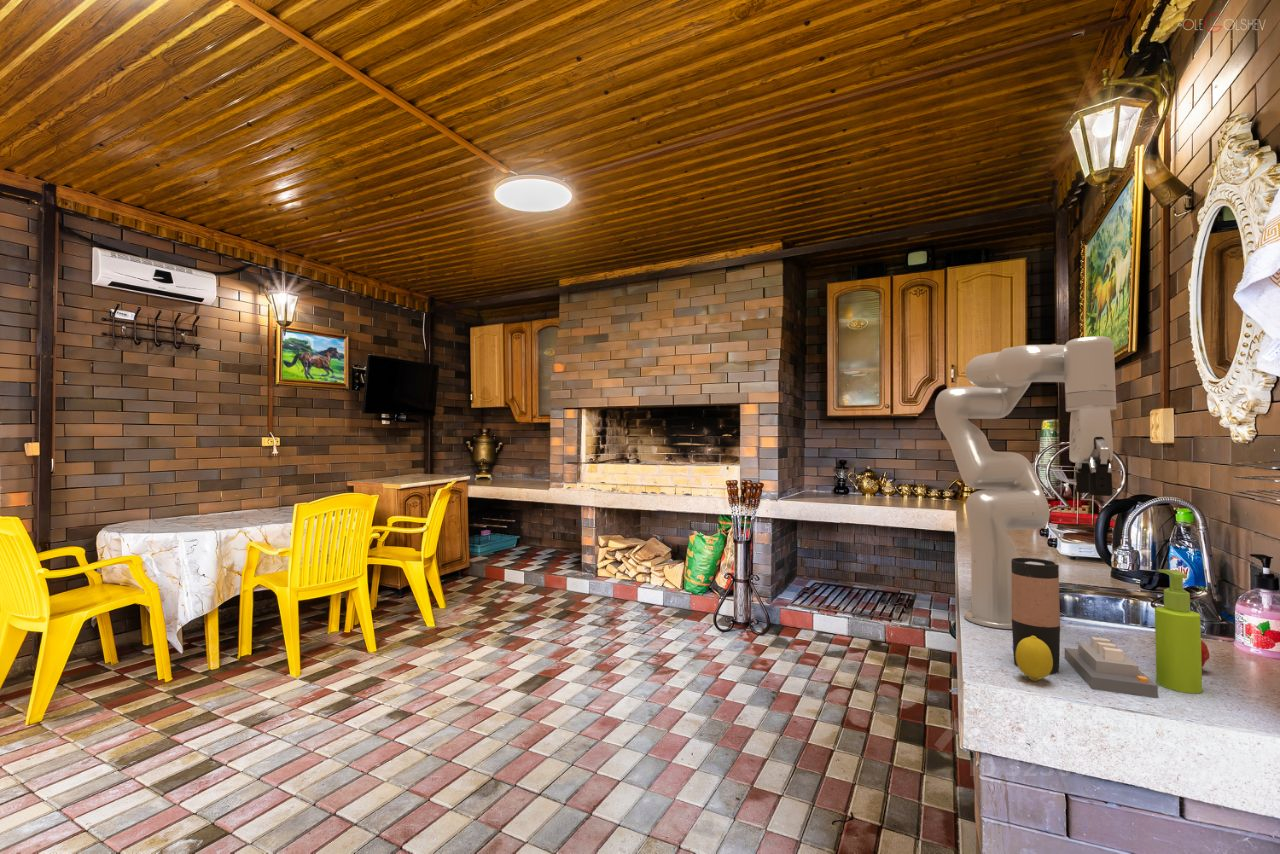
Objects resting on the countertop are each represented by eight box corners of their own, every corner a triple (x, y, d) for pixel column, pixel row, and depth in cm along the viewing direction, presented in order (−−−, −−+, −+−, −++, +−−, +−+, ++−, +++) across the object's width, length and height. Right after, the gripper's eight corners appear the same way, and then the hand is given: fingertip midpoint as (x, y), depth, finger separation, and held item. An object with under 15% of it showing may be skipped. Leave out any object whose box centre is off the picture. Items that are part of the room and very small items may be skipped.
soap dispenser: (1186, 679, 104) (1183, 568, 105) (1210, 695, 97) (1207, 576, 98) (1146, 675, 106) (1143, 566, 106) (1167, 690, 99) (1165, 574, 100)
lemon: (1059, 688, 100) (1058, 642, 100) (1024, 685, 101) (1023, 639, 101) (1043, 676, 105) (1043, 632, 105) (1010, 673, 106) (1009, 629, 106)
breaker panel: (1064, 657, 114) (1064, 628, 115) (1120, 664, 111) (1120, 634, 111) (1092, 688, 100) (1091, 655, 100) (1158, 697, 96) (1157, 662, 96)
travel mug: (1003, 662, 112) (1001, 559, 112) (1028, 657, 115) (1027, 556, 115) (1044, 677, 104) (1042, 566, 105) (1070, 671, 108) (1068, 563, 108)
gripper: (1056, 407, 118) (1059, 491, 117) (1076, 399, 102) (1080, 496, 101) (1102, 406, 114) (1106, 492, 113) (1130, 397, 99) (1134, 497, 98)
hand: (1093, 494), depth 107 cm, fingers open, 9 cm apart
